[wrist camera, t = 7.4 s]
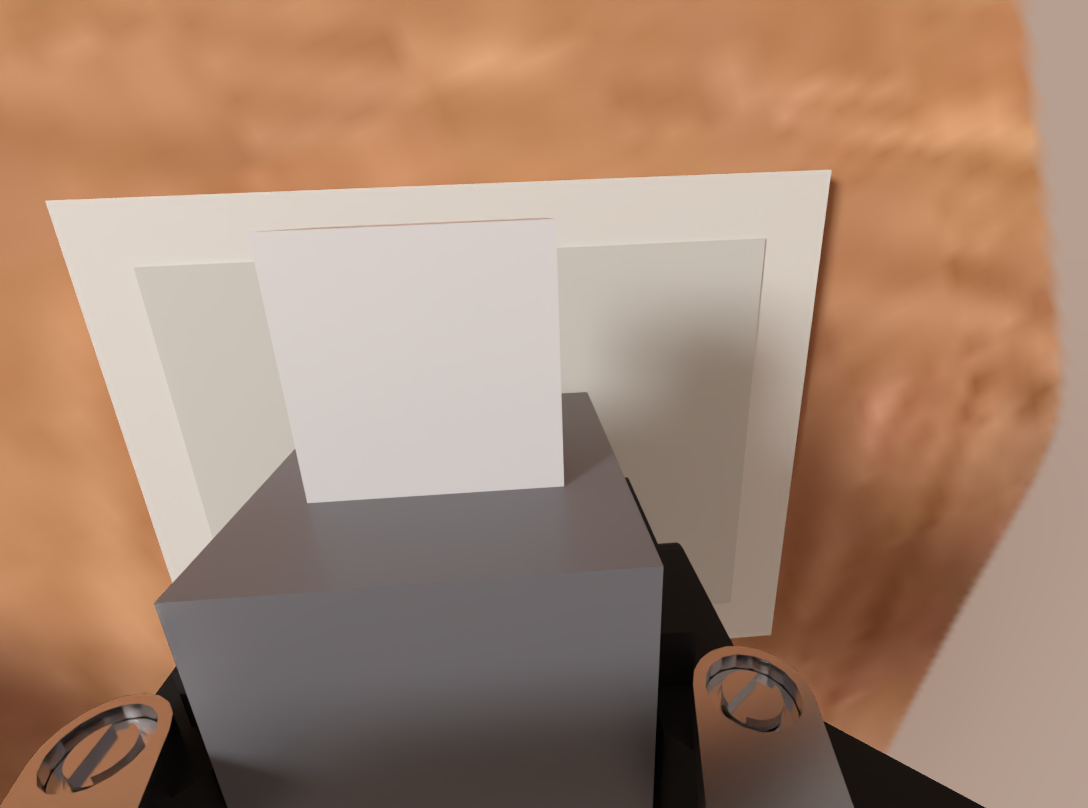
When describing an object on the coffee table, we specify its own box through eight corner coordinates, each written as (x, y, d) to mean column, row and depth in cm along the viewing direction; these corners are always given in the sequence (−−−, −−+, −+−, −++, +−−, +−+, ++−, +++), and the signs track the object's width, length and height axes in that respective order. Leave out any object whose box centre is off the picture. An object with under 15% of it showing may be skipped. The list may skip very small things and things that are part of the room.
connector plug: (591, 726, 12) (642, 1042, 8) (396, 743, 12) (325, 1079, 7) (584, 214, 8) (679, 216, 4) (299, 227, 8) (25, 244, 4)
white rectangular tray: (762, 621, 18) (771, 636, 17) (215, 668, 17) (204, 685, 16) (817, 171, 13) (833, 169, 13) (66, 201, 12) (42, 200, 12)
